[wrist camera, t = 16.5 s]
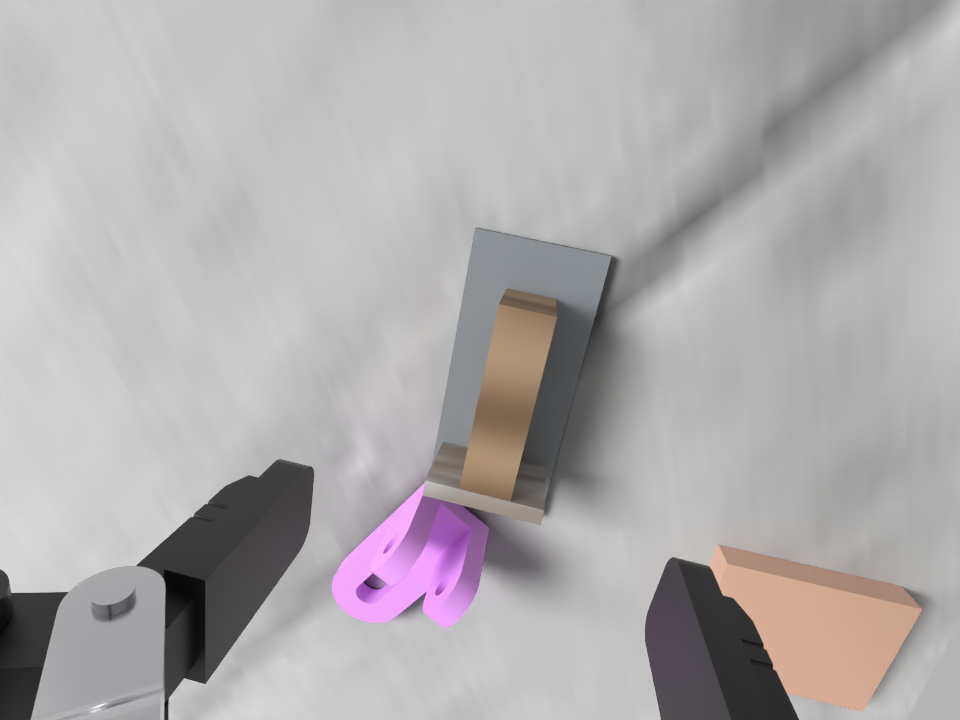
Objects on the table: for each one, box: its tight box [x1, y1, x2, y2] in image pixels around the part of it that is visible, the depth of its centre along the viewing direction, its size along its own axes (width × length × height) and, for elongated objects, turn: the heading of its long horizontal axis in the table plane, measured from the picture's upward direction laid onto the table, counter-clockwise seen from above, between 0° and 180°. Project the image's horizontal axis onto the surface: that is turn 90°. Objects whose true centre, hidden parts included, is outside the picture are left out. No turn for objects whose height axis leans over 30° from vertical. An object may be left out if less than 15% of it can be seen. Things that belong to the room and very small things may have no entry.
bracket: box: [332, 483, 489, 628], centre depth 34 cm, size 13×6×7 cm, turn 138°
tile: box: [710, 545, 923, 712], centre depth 34 cm, size 2×12×9 cm
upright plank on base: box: [423, 288, 557, 525], centre depth 29 cm, size 12×7×5 cm, turn 169°
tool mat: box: [432, 228, 611, 500], centre depth 32 cm, size 18×8×1 cm, turn 169°
